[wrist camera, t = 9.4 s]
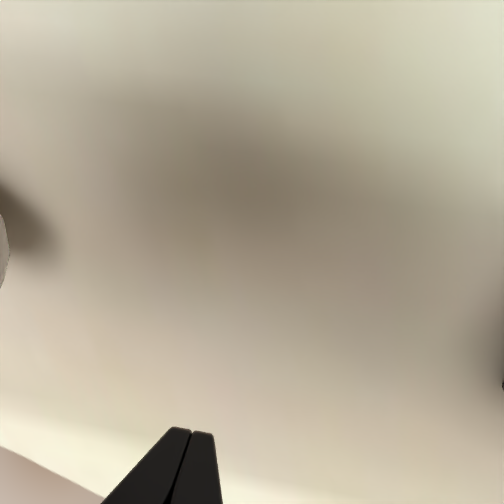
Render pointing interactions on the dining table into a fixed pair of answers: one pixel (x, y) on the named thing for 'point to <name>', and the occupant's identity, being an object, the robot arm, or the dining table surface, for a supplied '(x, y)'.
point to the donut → (3, 250)
